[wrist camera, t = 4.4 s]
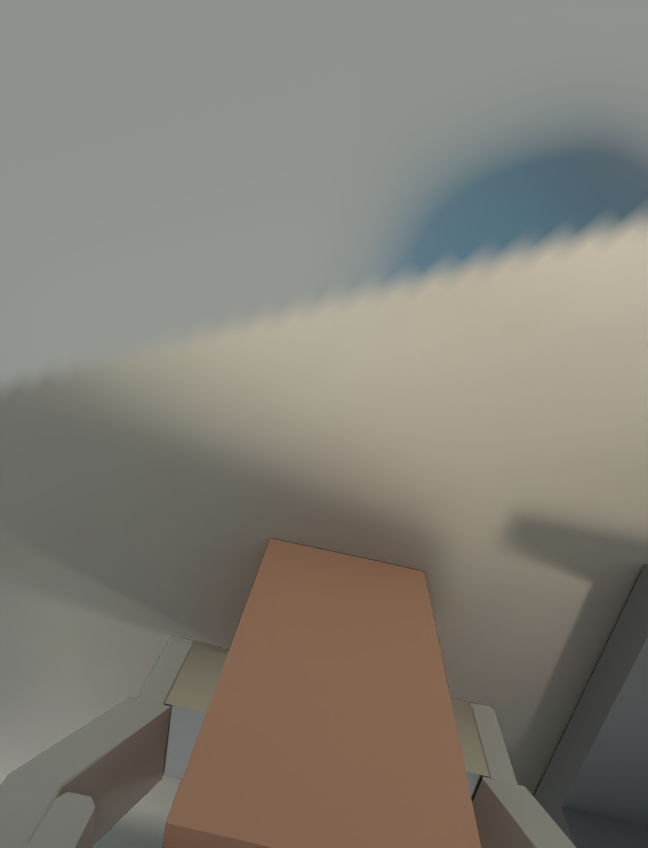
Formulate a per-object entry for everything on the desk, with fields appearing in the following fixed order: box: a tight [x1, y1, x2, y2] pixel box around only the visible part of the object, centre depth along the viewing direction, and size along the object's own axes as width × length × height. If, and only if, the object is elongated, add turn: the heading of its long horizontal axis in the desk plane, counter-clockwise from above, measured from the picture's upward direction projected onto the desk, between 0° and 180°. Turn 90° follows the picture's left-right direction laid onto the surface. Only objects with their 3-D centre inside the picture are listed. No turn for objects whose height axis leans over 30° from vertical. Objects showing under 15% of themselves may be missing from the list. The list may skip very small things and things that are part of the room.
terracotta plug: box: [163, 538, 481, 848], centre depth 9 cm, size 4×4×6 cm
